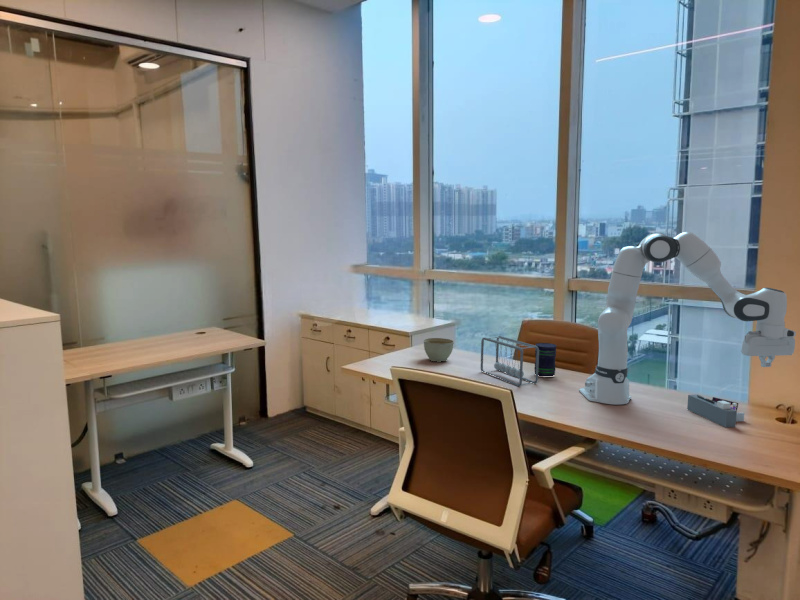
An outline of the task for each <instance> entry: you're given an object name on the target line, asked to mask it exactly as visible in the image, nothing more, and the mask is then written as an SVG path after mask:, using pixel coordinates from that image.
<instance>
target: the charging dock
mask: <svg viewBox="0 0 800 600" xmlns="http://www.w3.org/2000/svg"><path fill="white" fill-rule="evenodd" d="M730 407H732V405H731V403H729V402H726V401H723V400H722V401H717V402H714V401H712V399H710V398H706V397H704V396H702V395H699V394H688V395H687V408H686V409H688V410H687V411H689V410H690V412H691V411H692V412H691V413H693V412H694V414H695V413H696V414H695V415H698V414H699V415H698V416H700V415H701V416H700V417H702V416H703V417H702V418H704V417H705V418H704V419H706V418H707V420H708V419H709V421H710V420H711V422H712V423H715V424H717V425H719V426H722V427H723V428H736V423H738V422H744V421H745V412H738V410H737V411H736V409H735V410H734V409H731V408H730Z"/></svg>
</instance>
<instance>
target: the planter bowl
mask: <svg viewBox="0 0 800 600" xmlns="http://www.w3.org/2000/svg"><path fill="white" fill-rule="evenodd" d="M454 344H455V341H454V340H453V339H451V338H450V339H449V338H444V337H443V338H441V337H430V338H424V339H423V348H424V353H425V354H426V356H427V357H428V360H429V361H430V360H431V361H430V362H432V361H437V362H436V363H442V362H441V361H446V360H447V361H448V358H449V357H450V355H451V354H452V352H453V349H454ZM447 361H446V362H447Z"/></svg>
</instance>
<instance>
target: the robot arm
mask: <svg viewBox="0 0 800 600" xmlns="http://www.w3.org/2000/svg"><path fill="white" fill-rule="evenodd" d="M672 259H677V261H679V262H680V263H681V264H682V265H683V266H684V268H685V269H686V270H688V272H690V273H691V274H692V275H693V276H694V277H696V278H697V279H698V280H700V281H702V282H703V283H705V284H706V285H707V286H708V288H710V290H712V292H713V293H714V294H715V295H716V296H717V297H718V299H719V300H720V301H721V304H722V308H723V311H724V312H725V313H726V314H727V316H729V317H731V318H734V319H737V320H738V321H741V322H756V325H755V331H754V330H753V331H748V332H747V333H745V335H744V338H743V341H742V346H741V350H740V352H741V354H742V355H743V356H745V357H747V356H748V357H758V359H759V361H760V366H761V368H771V367H772V363H773V362H774V360H775V358H776V356H792V355H793V354H794V352H795V348H796V339H795V337H796V335H797V332H796V331H795V330H793V329H789V328H787V327H785V326H786V323H785V322H786V321H785V316H786V314H787V307H788V298H787V297H788V295H787V293H785V292H784V291H783V290H781V289H777V288H772V287H762V289H760V290H758V291H755V292H753V293H749V294H746V293H743V292H740V291H738V289H736V288H735V287H734V286H732V284H731V283H730V282H729V281H728V280H727V279H726V278H725V277H724V275H723V273H722V271H721V265H722V264H721V263H722V262H721V259H720V258H719V257H718V256H717V254H716V253H715V251H714V250H713V249H712V248H711V247H710V246H709V245H708V244H707V243H706V242H705V241H704V240H703V239H701V238H700V237H699V236H697V235H696V234H694V233H693V232H690V231H683V232H681V233H678V234H677V235H676V236H675V237H671V236H668V235H666V234H664V233H660V232H653V233H652V232H651V233H649V234H647V235H646V236H644V237H643V238H642V239H641V240H640V241H639V243H638V244H636V245H635V246H633V245H630V246H629V245H628V246H624V247H622V248H621V249H620V250H619V252H618V254H617V256H616V259H615V262H614V264H613V267H612V272H611V275H610V279H609V284H608V287H607V296H606V303H605V309H604V310H603V311H602V312H601V313H600V315H599V316H598V319H597V334H598V336H597V337H598V360H597V364H595V365H594V368H595V370H594V373H593V374H591V375H590V376H589V377H587V378H586V379H585V382H584V387H581V388H579V390H578V391H579V393H581V394H582V395H583V396H584V398H586V399H587V400H588V401H590V402H595V403H596V402H597V403H601V404H606V405H615V406H616V405H626V404H628V403H629V402H630V401H631V400H632V396H631V395H630V380H629V379H628V378H627V377H628V373H629V371H628V370H629V368H628V351H629V348H628V328H629V327H630V325H631V324H632V321H633V317H634V312H635V305H636V300H637V295H638V293H639V292H638V291H639V287H640V284H641V279H642V276H643V271H644V269H645V267H646V265H647V264H648V263H649V262H653V263H657V264H658V263H660V264H661V263H665V262H668V261H669V260H672ZM630 399H631V400H630Z"/></svg>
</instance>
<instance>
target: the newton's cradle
mask: <svg viewBox="0 0 800 600" xmlns="http://www.w3.org/2000/svg"><path fill="white" fill-rule="evenodd" d="M500 340H502V341H500ZM485 341H488V342H491V343H493V344H494V346H495V363H494V365H493V368H494V370H500V371H502V372H501V373H503V372H506V373H507V374H506V375H508V374H511V375H513V376H512V377H514V376H516V377H518V378H517V379H519V378H520V379H519V383H517V382H514V381H513V380H509V379H506V378H503V377H501V376H498V375H497V374H494V373H491V372H486V373H488V374H491V375H494V376H496V377H499V378H501V379H503V380H505V381H507V382H506V383H508V382H510V383H512V384H511V385H513V384H514V385H513V386H516V387H521V386H523V385H528V384H529V385H530V382H532V383H531V384H533V383H535V384H534V385H536V384H537V383H538V382H539V377H538V367H539V348H538V347H537V346H536V344H535V345H534V344H530V343H527V342H523V341H520V340H515V339H513V338H509V337H504V336H503V335H502V336H501V335H499V336H495V337H493V336H492V337H482V339H481V343H480V371H481V372H482V371H483V372H485V370H484V343H485ZM515 344H516V345H515ZM499 346H500V349H502V348H503V347H502V346H505V347H504V348H505V351H507V350H508V348H510V349H514V350H515V351H516V353H518V351H520V356H519V357H520V362H519V364H517V365H518V369H517V368H516V367H515V366H516V364H514V363H516V360H517V361H519V359H518V354H516V355H515V356H516V359H515V361H514V360H511V361H509V363H508V361H506V358H504V360H503V361H501V362H500V361H499V360H500V359H501V358H500V357H503V356H502V355H503V354H502V351H500V353H499V350H500V349H499ZM520 346H521V347H520ZM533 348H534V349H536V350H537V355H536V356H535V361H536V376H534V377H535V380H534V381H533V380H531V379H528V378H526V377H524V370H523V366H524V364H523V363H524V350H525V349H533ZM510 352H511V353H510V357H509V359H512V356H513V355H512V354H513V353H512V352H513V350H510ZM499 355H500V356H499ZM504 357H508V355H507V352H505V355H504ZM505 361H506V364H505V363H504V362H505ZM513 361H514V363H513ZM510 362H511V363H512V365H513V366H510ZM500 371H499V372H500ZM511 375H510V376H511ZM516 377H515V378H516ZM522 379H524V380H522ZM503 380H502V381H503ZM525 380H527V381H529V382H527V381H526V382H525V383H523V381H525ZM505 381H504V382H505ZM510 383H509V384H510Z"/></svg>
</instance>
